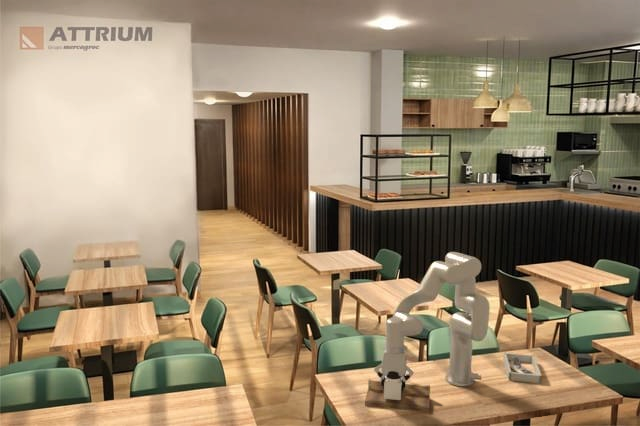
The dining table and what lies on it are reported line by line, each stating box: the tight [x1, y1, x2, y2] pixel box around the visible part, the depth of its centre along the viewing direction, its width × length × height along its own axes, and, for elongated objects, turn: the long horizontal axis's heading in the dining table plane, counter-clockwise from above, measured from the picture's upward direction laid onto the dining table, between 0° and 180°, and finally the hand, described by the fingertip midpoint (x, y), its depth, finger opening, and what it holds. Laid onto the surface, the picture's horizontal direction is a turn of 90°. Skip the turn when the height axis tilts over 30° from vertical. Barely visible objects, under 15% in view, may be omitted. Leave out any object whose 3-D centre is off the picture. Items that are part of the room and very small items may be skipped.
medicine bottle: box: [384, 371, 402, 400], centre depth 230 cm, size 7×7×12 cm
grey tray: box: [502, 352, 543, 384], centre depth 262 cm, size 14×23×4 cm, turn 168°
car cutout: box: [509, 357, 536, 375], centre depth 262 cm, size 15×7×4 cm, turn 16°
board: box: [364, 378, 431, 414], centre depth 232 cm, size 26×12×6 cm, turn 78°
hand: (393, 388), depth 231 cm, fingers closed on medicine bottle, 7 cm apart
